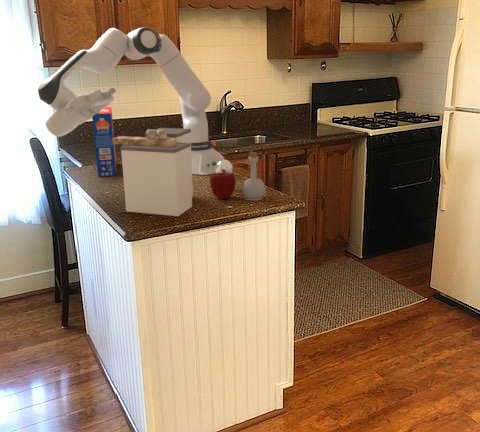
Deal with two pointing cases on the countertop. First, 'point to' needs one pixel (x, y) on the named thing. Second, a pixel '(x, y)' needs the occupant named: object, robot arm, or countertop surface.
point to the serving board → (147, 139)
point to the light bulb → (224, 166)
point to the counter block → (159, 175)
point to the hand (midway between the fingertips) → (107, 90)
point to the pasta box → (104, 142)
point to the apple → (222, 184)
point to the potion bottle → (253, 182)
